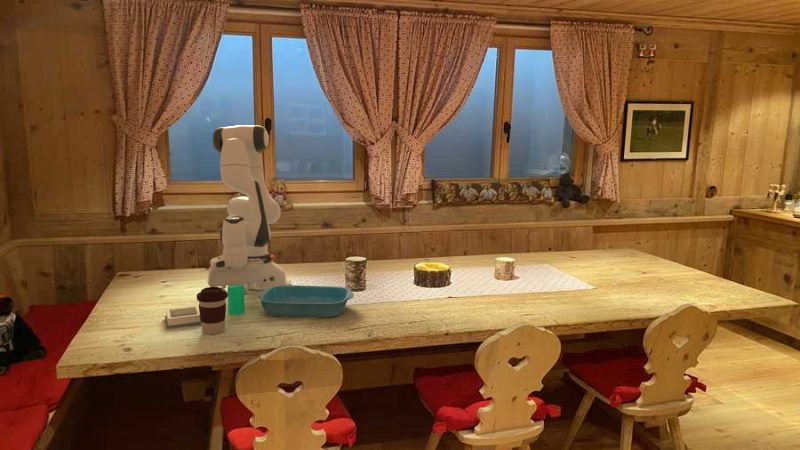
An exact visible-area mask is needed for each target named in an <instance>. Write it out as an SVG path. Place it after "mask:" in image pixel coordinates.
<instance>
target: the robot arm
mask: <svg viewBox="0 0 800 450" xmlns="http://www.w3.org/2000/svg"><path fill="white" fill-rule="evenodd" d="M269 140H270V139H269V134H268V131H267V129H266V128H265V127H264V126H262V125H257V124H255V125H247V124H245V125H244V124H243V125H241V124H240V125H233V126H226V127H225V126H222V127H218V128H216V129H215V130H213V133H212V145H213V147H214V149H215V150H216V151H217V152H218V153H220V161H219V162H220V163H219V164H220V165H219V166H220V168H219V169H220V178H221V182H222V183H223V184H224V185H225V187H228V188H229V189H231V190H232V191H235V192H239V193H240V194H243V195H246V196H237V197H233V198H231V199H230V200H229V201H228V204H227V205H226V206H227V207H226V209H227V210H226V211H227V215H228V216H226V217H225V218H224V219H223V222H222V225H221V226H220V228H219V239H220V240H219V242H220V243H221V244H222V245H223V249H222V254H221V255H219V256H216V257H213V258H211V259H210V261H209V262H210V263H209V264H210V267H209V268H208V270H207V285H208V287H220V288H222V289H223V291H226V292H227V298H228V297H229V292H228V290H226V289H227V287H228V285H237V284H243V285H244V296H247V295H249V291H250V290H253V291H263V290H266V289H269V288H271V287H274V286H281V285H290V284H291V285H292V282H291V279H290V278H289V277H287V276H286V272H285V270H284V268H283V267H281V266H280V265H279V264H277V263H275V262H274V260H276V256H275V255H273V254H271V253H270V252H269V251H268V247H269V246H268V244H269V243H270V241H271V234H272V233H271V229H270V224H275V223H277V221H278V220H279V219H280V217H281V214H282V213H281V212H282V211H281V207H280V204H279V203H278V202H277V201H276V200H275V199H274V198H273V197H272V196H271V194H270V192H269V190H268V188H267V186H266V182H265V178H264V177H265V176H264V168H263V167H264V166H263V159H262V154H261V153H262V152H263V151H265V150H266V149H267V148H268V145H269Z"/></svg>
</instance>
